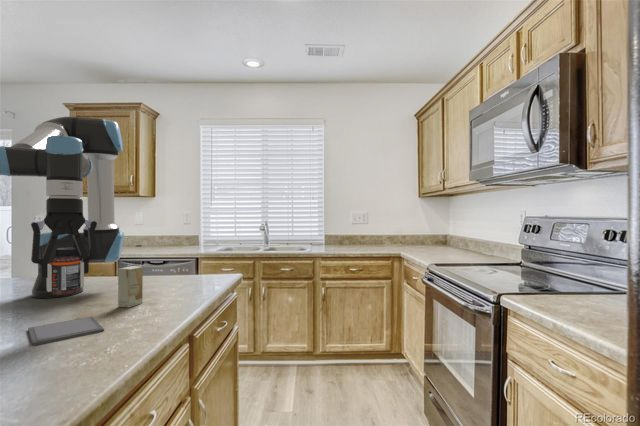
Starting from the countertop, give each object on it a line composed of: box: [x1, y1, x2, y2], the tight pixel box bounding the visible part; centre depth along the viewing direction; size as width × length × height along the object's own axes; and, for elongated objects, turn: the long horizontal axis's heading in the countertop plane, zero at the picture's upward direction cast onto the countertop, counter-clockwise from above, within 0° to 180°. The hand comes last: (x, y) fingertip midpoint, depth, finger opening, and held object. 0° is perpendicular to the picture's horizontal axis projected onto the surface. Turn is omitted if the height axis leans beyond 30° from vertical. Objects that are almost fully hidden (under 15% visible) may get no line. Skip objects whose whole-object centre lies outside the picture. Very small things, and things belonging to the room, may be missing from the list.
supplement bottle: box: [51, 248, 80, 295], centre depth 89 cm, size 6×6×11 cm
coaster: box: [27, 316, 105, 346], centre depth 89 cm, size 14×14×1 cm
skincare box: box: [117, 265, 144, 308], centre depth 113 cm, size 6×4×12 cm
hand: (65, 288), depth 89 cm, fingers closed on supplement bottle, 6 cm apart
